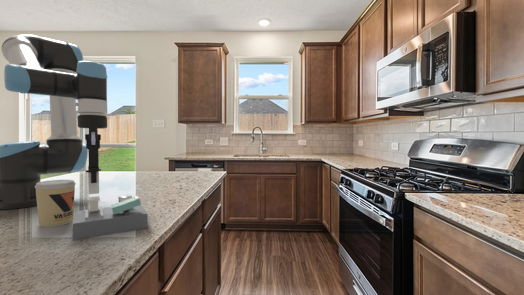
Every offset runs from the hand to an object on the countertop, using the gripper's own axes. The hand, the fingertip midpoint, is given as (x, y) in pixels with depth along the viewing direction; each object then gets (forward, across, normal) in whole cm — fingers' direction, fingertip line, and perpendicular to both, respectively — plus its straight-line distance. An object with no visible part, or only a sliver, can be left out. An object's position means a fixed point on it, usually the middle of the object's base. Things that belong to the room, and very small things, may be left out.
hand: (93, 193), depth 80 cm
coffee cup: (+8, -3, -9) cm, 13 cm away
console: (+8, +9, +4) cm, 13 cm away
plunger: (+4, +6, +8) cm, 10 cm away
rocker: (+2, +12, +7) cm, 14 cm away
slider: (+4, +6, 0) cm, 7 cm away
